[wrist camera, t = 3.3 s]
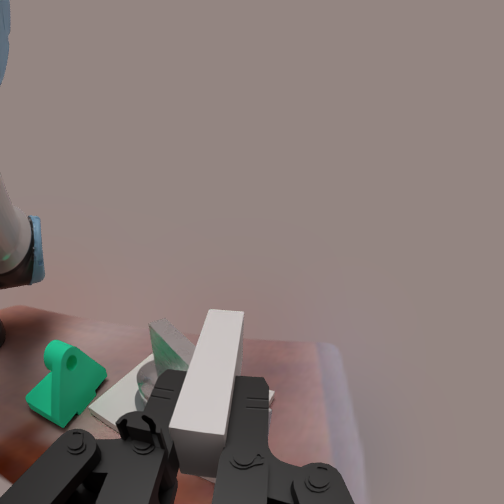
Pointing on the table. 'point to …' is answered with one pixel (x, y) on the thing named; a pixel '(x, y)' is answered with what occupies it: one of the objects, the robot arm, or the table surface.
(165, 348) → the brushed metal plate
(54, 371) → the green mounting bracket
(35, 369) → the table surface
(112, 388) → the post base
